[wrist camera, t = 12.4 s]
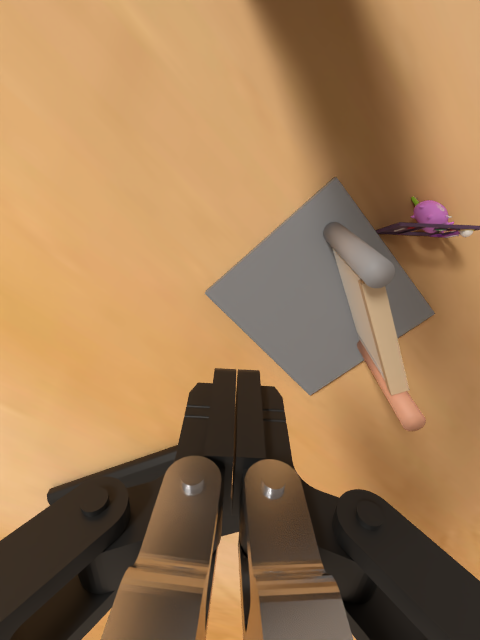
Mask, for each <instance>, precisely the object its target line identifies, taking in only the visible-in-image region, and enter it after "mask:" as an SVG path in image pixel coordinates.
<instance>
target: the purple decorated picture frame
mask: <svg viewBox="0 0 480 640" xmlns="http://www.w3.org/2000/svg"><path fill="white" fill-rule="evenodd" d="M411 200H412V202H413V203H414V205H415V206H416V207H415V208H414V215H413V216H411V218H415V219H416V220H417V222H418V223H404V222H399V223H396V224H393V225H390V226H387V227H384V228H381V229H378V230H375V231H376V232H377V234H393V235H415V236H430V237H445V238H449V237H454V236H459V235H458V234H460V235H461V236H463V237H468V236H470V235H471V234H472V233H473V231H475V230H480V226H471V225H452V224H454V222H451V223H448V218H451V216H448V212H447V210H446V208H445V207H444V206H443V205H441V204H440V203H438V202H436V201H432V200H426V201H422V202H420V203H419V201H417V198H416V199H415V196H414V197H412V198H411ZM448 228H450V229H448ZM419 229H423V230H424V231H425V232H427V233H424V232H411V231H415V230H419ZM443 231H450V232H446V233H444V232H443ZM439 232H442V233H439Z"/></svg>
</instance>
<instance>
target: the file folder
mask: <svg viewBox="0 0 480 640" xmlns="http://www.w3.org/2000/svg"><path fill="white" fill-rule="evenodd" d="M177 448H178V445H176V446H173V447H170V448H168V449H165V450H162V451H159V452H156V453H153V454H150V455H147V456H144V457H141V458H138V459H136V460H133V461H130V462H127V463H124V464H121V465H118V466H115V467H112V468H109V469H106V470H103V471H100V472H98V473H95V474H92V475H89V476H86V477H83V478H80V479H77V480H74V481H71V482H68V483H65V484H63V485H60V486H57V487H54V488H51V489H50V490H49V492H48V494H47V499H48V503H49V504H50V505H52V504H53V503H55V502H56V501H57V500H59V499H60V498H62V497H63V496H64V495H66V494H67V493H69V492H70V491H72V490H73V489H74V488H76V487H77V486H79V485H80V484H82V483H83V482H85V481H87V480H90V479H93V478H96V477H104V476H106V477H113V478H116V479H118V480H120V481H121V482H122V483H123V484H124V485H125V487H126V488H129V487H132V486H136V485H140V484H144V483H148V482H151V481H153V480H155V479H157V478H159V477H160V476H162V475H163V474H164V473H166V471H167V470H168V468H169V467H170V466H171V465H172V464H173V462H174V460H175V457H176V453H177ZM232 489H233V486H232V485H231V499H230V512H229V516H222V530H221V536H224V535H228V534H232V533H235V532H239V516H232Z"/></svg>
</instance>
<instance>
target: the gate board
mask: <svg viewBox="0 0 480 640" xmlns="http://www.w3.org/2000/svg"><path fill="white" fill-rule="evenodd" d="M333 248H334V250H335V251H336V252H337V253H338V254H339V255H340V256H341V257H342V258H343V259H344V261H345V262H346V263H347V264H348V265H349V266H350V267H351V268H352V269H353V270H354V271H355V273H356V274H357V275H358V276H359V277H360V278H361V279H362V280H363V281H364V282H365V283H366V285H368V286H369V287H371V288H382V287H384V286H385V288H386V292H387V296H388V300H389V305H390V309H391V313H392V317H393V322H394V326H395V330H396V334H397V338H399V337H400V336H402V335H403V334H405V333H406V332H408V331H409V330H411V329H412V328H414V327H415V326H417V325H418V324H420V323H422V322H423V321H425V320H426V319H428V318H429V317H431V316H432V315H434V314H435V313H434V311H433V310H432V309H431V307H430V306H429V304H428V303H427V302H426V300H425V299H424V297H423V296H422V295H421V293H420V292H419V291H418V289H417V288H416V286H415V285H414V284H413V282H412V281H411V280H410V278H409V277H408V275H407V274H406V273H405V271H404V270H403V268H402V267H401V266H400V264H399V263H398V262H397V260H396V259H395V257H394V256H393V255H392V253H391V252H390V250H389V249H388V248H387V246H386V245H385V244H384V242H383V241H382V239H381V238H380V237H379V235H378V234H377V232H376V231H375V230H374V228H373V227H372V226H371V224H370V223H369V221H368V220H367V219H366V217H365V216H364V214H363V213H362V212H361V210H360V209H359V208H358V206H357V205H356V203H355V202H354V201H353V199H352V198H351V197H350V195H349V194H348V192H347V191H346V190H345V188H344V187H343V185H342V184H341V183H340V181H339V180H338V179H337V177H334V178H333V179H332V180H331V181H329V182H328V183H327V184H326V185H325V186H324V187H323V188H322V189H320V190H319V191H318V192H317V193H316V194H315V195H314V196H312V197H311V198H310V199H309V200H308V201H307V202H306V203H305V204H303V205H302V206H301V207H300V208H299V209H298V210H297V211H296V212H294V213H293V214H292V215H291V216H290V217H289V218H288V219H287V220H285V221H284V222H283V223H282V224H281V225H280V226H279V227H277V228H276V229H275V230H274V231H273V232H272V233H271V234H270V235H268V236H267V237H266V238H265V239H264V240H263V241H262V242H261V243H259V244H258V245H257V246H256V247H255V248H254V249H253V250H251V251H250V252H249V253H248V254H247V255H246V256H245V257H244V258H242V259H241V260H240V261H239V262H238V263H237V264H236V265H235V266H233V267H232V268H231V269H230V270H229V271H228V272H227V273H226V274H224V275H223V276H222V277H221V278H220V279H219V280H218V281H216V282H215V283H214V284H213V285H212V286H211V287H210V288H209V289H207V290H206V292H205V294H206V295H207V296H208V297H209V298H210V299H211V300H212V301H213V302H214V303H215V304H216V305H217V306H218V307H219V308H220V309H221V310H222V311H223V312H224V313H225V314H226V315H227V316H229V317H230V318H231V319H232V320H233V321H234V322H235V323H236V324H237V325H238V326H239V327H240V328H241V329H242V330H243V331H244V332H245V333H246V334H247V335H248V336H249V337H250V338H251V339H252V340H253V341H254V342H255V343H256V344H257V345H258V346H259V347H260V348H262V349H263V350H264V351H265V352H266V353H267V354H268V355H269V356H270V357H271V358H272V359H273V360H274V361H275V362H276V363H277V364H278V365H279V366H280V367H281V368H282V369H283V370H284V371H285V372H286V373H287V374H288V375H289V376H290V377H291V378H292V379H293V380H294V381H296V382H297V383H298V384H299V385H300V386H301V387H302V388H303V389H304V390H305V391H306V392H307V393H308V394H309V395H312V394H313V393H315V392H316V391H318V390H319V389H321V388H322V387H324V386H325V385H327V384H328V383H330V382H331V381H333V380H335V379H336V378H338V377H339V376H341V375H342V374H344V373H345V372H347V371H348V370H350V369H351V368H353V367H354V366H356V365H357V364H359V363H360V362H362V361H364V360H365V362H366V363H367V365H368V367H369V369H370V370H371V372H372V374H373V376H374V377H375V379H376V381H377V383H378V384H379V386H380V388H381V389H382V391H383V393H384V395H385V396H386V398H387V400H388V402H389V403H390V405H391V407H392V409H393V410H394V412H395V414H396V416H397V417H398V419H399V421H400V422H401V424H402V426H403V428H404V429H405V430H408V431H416V430H419V429H421V428H422V427H423V426H424V425H425V423H426V419H425V417H424V415H423V414H422V412H421V411H420V410H419V408H418V407H417V405H416V404H415V402H414V401H413V399H412V398H411V396H410V395H409V393H408V392H407V391H405V392H402V393H398V394H395V395H391V394H390V392H389V391H388V389H387V386H386V382H385V380H384V378H383V377H382V375H381V373H380V372H379V370H378V369H377V367H376V365H375V364H374V362H373V360H372V359H371V357H370V355H369V354H368V352H367V351H366V349H365V347H364V346H363V344H362V342H361V341H360V339H359V337H358V334H357V330H356V327H355V324H354V320H353V317H352V313H351V310H350V307H349V303H348V300H347V296H346V293H345V290H344V286H343V283H342V279H341V276H340V273H339V269H338V266H337V262H336V259H335V256H334V252H333Z"/></svg>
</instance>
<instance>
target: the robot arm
mask: <svg viewBox="0 0 480 640" xmlns="http://www.w3.org/2000/svg"><path fill="white" fill-rule="evenodd" d="M235 393H236V404H235ZM232 471H233V489H232V516H239V541H238V557H239V574H240V591H241V609H242V626H243V640H353V637H352V634H353V636H354V637H355V638H356V639H357V640H480V581H479V580H478V579H477V578H475V577H474V576H473V575H472V574H471V573H470V572H468V571H467V570H466V569H465V568H464V567H463V566H461V565H460V564H459V563H458V562H457V561H455V560H454V559H453V558H452V557H451V556H450V555H448V554H447V553H446V552H445V551H444V550H443V549H441V548H440V547H439V546H438V545H437V544H436V543H434V542H433V541H432V540H431V539H430V538H428V537H427V536H426V535H425V534H424V533H423V532H421V531H420V530H419V529H418V528H417V527H416V526H414V525H413V524H412V523H411V522H410V521H408V520H407V519H406V518H405V517H404V516H403V515H401V514H400V513H399V512H398V511H397V510H396V509H394V508H393V507H392V506H391V505H390V504H388V503H387V502H386V501H385V500H384V499H382V498H381V497H379V496H378V495H376V494H374V493H372V492H369V491H366V490H360V489H355V490H350V491H347V492H345V493H344V494H343V495H342V496H341V497H340V498H338V497H336V496H333V495H330V494H327V493H324V492H322V491H319V490H317V489H315V488H313V487H311V486H309V485H308V484H307V483H305V482H304V481H303V480H302V479H301V478H300V476H299V475H298V474H297V472H296V470H295V468H294V466H293V462H292V456H291V449H290V443H289V436H288V430H287V424H286V417H285V412H284V404H283V398H282V396H281V395H280V393H279V392H278V391H277V389H276V388H275V387H272V386H261V384H260V372H259V371H258V370H239V369H238V375H237V390H236V369H219V368H215V371H214V379H213V383H197V385H196V386H195V387H194V388H193V389H192V390H191V392H190V393H189V397H188V402H187V407H186V411H185V417H184V420H183V425H182V430H181V434H180V439H179V443H178V448H177V453H176V457H175V460H174V462H173V464H172V465H171V466H170V467H169V468H168V470H167V471H166V473H164V474H163V475H162V476H160V477H159V478H157V479H155V480H153V481H151V482H148V483H144V484H140V485H136V486H132V487H129V488H126V487H125V485H124V484H123V483H122V482H121V481H120V480H118V479H116V478H113V477H106V476H104V477H96V478H93V479H90V480H87V481H85V482H83V483H82V484H80V485H79V486H77V487H76V488H74V489H73V490H72V491H70V492H69V493H67V494H66V495H64V496H63V497H62V498H60V499H59V500H57V501H56V502H55V503H53V504H52V505H50V506H49V507H48V508H46V509H45V510H43V511H42V512H40V513H39V514H38V515H36V516H35V517H33V518H32V519H31V520H29V521H28V522H26V523H25V524H23V525H22V526H21V527H19V528H18V529H16V530H15V531H14V532H12V533H11V534H9V535H8V536H7V537H5V538H4V539H2V540H1V541H0V640H81V639H82V638H83V637H84V636H85V635H86V634H87V633H88V632H89V631H90V630H91V629H92V628H93V627H94V626H95V625H96V624H97V623H98V621H99V620H100V619H101V618H102V617H103V616H104V615H105V614H106V613H107V612H108V611H109V610H110V609H111V608H112V609H111V612H110V615H109V617H108V620H107V623H106V626H105V629H104V632H103V635H102V638H101V640H206V634H207V626H208V619H209V611H210V604H211V596H212V589H213V581H214V574H215V566H216V559H217V551H218V545H219V543H220V539H221V530H222V516H229V512H230V499H231V485H232Z"/></svg>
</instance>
